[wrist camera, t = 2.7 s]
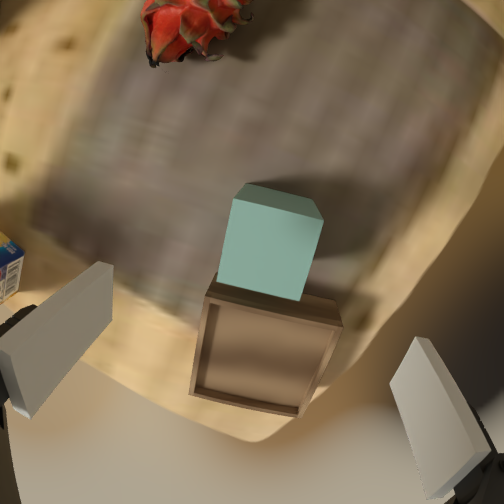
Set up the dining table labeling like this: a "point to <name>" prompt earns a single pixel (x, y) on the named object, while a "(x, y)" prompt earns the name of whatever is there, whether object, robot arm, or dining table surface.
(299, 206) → the block
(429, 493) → the robot arm
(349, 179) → the dining table surface
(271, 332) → the tray
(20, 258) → the beverage box
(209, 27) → the dragon fruit
